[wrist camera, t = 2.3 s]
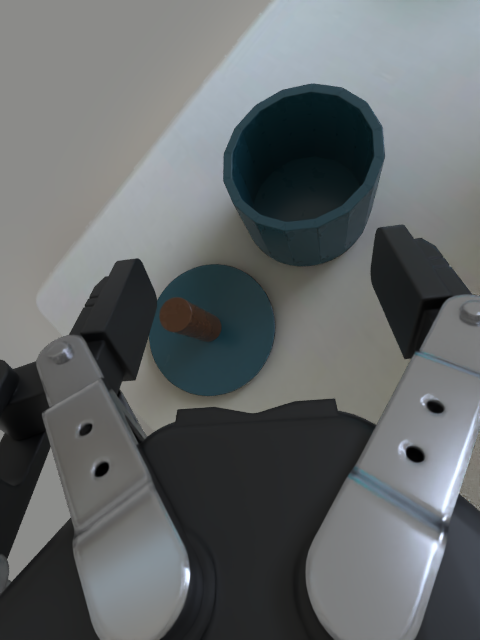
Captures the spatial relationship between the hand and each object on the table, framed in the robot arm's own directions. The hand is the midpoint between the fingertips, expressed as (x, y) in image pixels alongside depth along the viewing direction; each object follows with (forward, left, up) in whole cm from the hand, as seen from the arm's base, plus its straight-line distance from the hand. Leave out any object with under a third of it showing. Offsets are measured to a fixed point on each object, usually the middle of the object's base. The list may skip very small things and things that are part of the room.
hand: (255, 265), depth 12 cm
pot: (-9, -8, -19) cm, 22 cm away
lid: (+5, -6, -18) cm, 20 cm away
